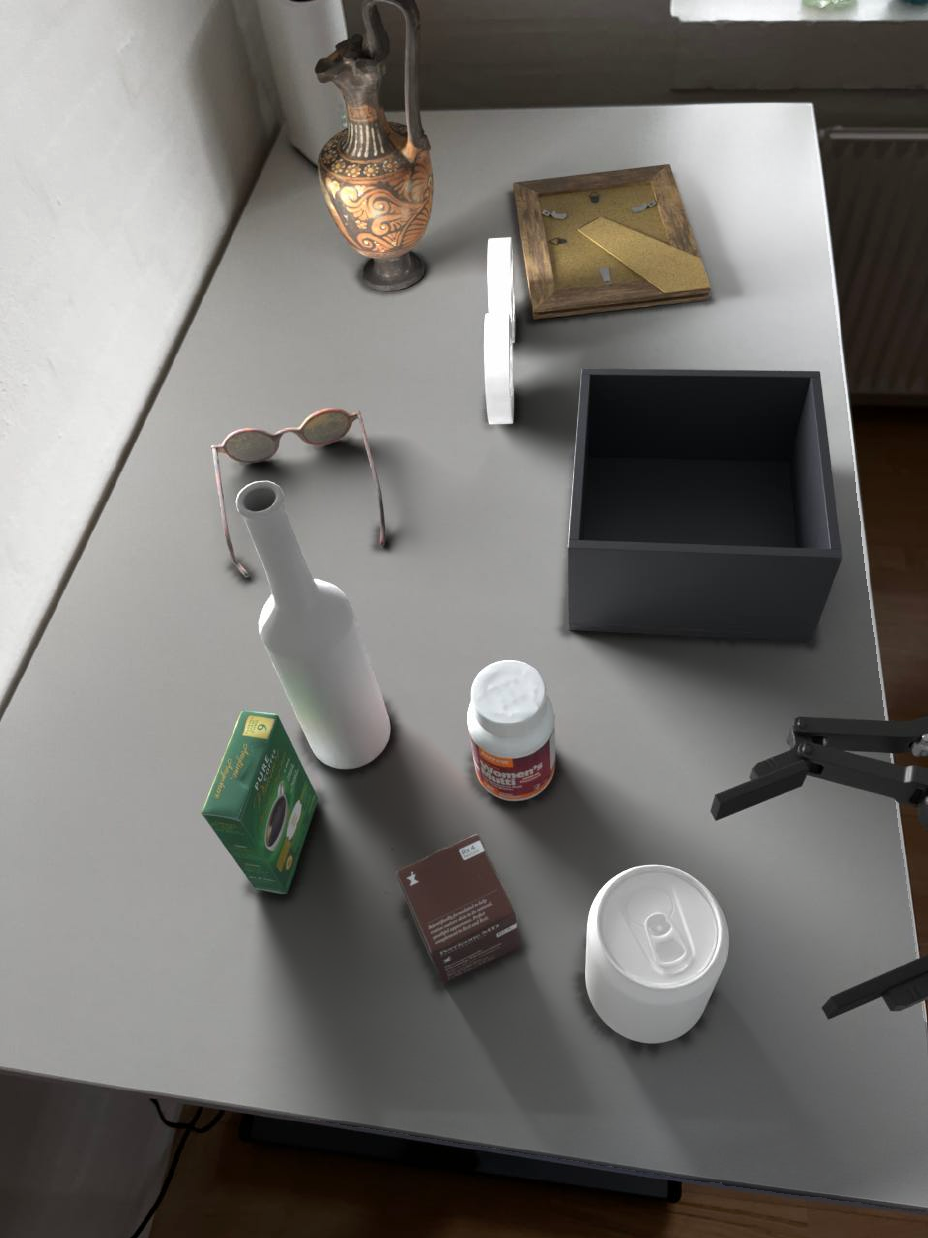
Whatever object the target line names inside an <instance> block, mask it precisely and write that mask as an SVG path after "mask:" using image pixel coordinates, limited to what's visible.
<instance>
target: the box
mask: <svg viewBox="0 0 928 1238" xmlns="http://www.w3.org/2000/svg"><path fill="white" fill-rule="evenodd" d="M395 874H396V877H397V881H398V883H399V885H400V888H401V891H402V894H403V896H404V898H405V901H406V905H407V906H408V909H409V911H410V914H411V916H412V919H413V922H414V924H415V927H416V929H417V931H418V933H419V936H420V939H421V940H422V943H423V945H424V948H425V949H426V951H427V954H428V956H429V958H430V961H431V963H432V965H433V967H434V969H435V971H436V973H437V975H438V977H439V980H440V982H441V983H442V984H445V983H448V982H450V981H453V980H455V979H457V978H460V977H462V976H463V975H466V974H467V973H469V972H472V971H474V970H477V969H478V968H481V967H483V966H484V965H486V964H488V963H491V962H493V961H495V960H496V959H498V958H501V957H503V956H504V955H506V954H508V953H510V952H512V951H515V950H517V949H518V948H519V947H520V946H521V941H520V934H519V928H518V923H517V922H518V920H517V915H516V914H517V913H516V910H515V907H514V905H513V903H512V901H511V898H510V896H509V895H508V892H507V891H506V889H505V887H504V885H503V883H502V881H501V879H500V877H499V875H498V873H497V871H496V869H495V866H494V864H493V862H492V860H491V858H490V856H489V855H488V852H487V849H486V848H485V846H484V843H483V842H482V840H481V838H480V836H479V834H478V833H475V834H473V835H471V836H468V837H467V838H465V839H462V840H460V841H458V842H456V843H454V844H452V845H449V846H447V847H445V848H441V849H439V850H436V851H434V852H432V853H431V854H429V855H428V856H426V857H424V858H422V859H419V860H417V861H415V862H412V863H411V864H409V865H406V866H404V867H402V868H400V869H398V870H397V871H396V873H395Z"/></svg>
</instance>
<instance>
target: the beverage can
mask: <svg viewBox="0 0 928 1238" xmlns="http://www.w3.org/2000/svg"><path fill="white" fill-rule="evenodd" d="M585 944H586V945H585V947H586V948H585V969H584V975H585V976H584V978H585V981H584V982H585V988H586V992H587V996H588V998H589V1001H590V1004H592V1007H593V1009H594V1011H595V1012H596V1014H597V1015H598V1016H599V1018H600V1019H601V1020H602V1021H603V1022H604V1024H605V1025H606V1026H608V1027H609V1028H610V1029H611V1030H612V1031H614V1032H615V1033H617V1034H618V1035H620V1036H622V1037H624V1038H626V1039H628V1040H631V1041H634V1042H638V1043H643V1044H662V1043H666V1042H670V1041H673V1040H676V1039H678V1038H680V1037H682V1036H683V1035H685V1034H686V1033H688V1032H689V1031H690V1030H691V1029H693V1027H694V1026H695V1025H696V1024H697V1023H698V1022H699V1020H700V1019H701V1017H702V1015H703V1014H704V1011H705V1009H706V1007H707V1005H708V1003H709V1001H710V998H711V996H712V994H713V992H714V990H715V988H716V986H717V983H718V981H719V979H720V977H721V975H722V972H723V970H724V968H725V965H726V963H727V960H728V957H729V949H730V933H729V927H728V923H727V918H726V917H725V914H724V912H723V909H722V907H721V905H720V903H719V902H718V900H717V899H716V898H715V895H713V893H712V892H711V890H709V889H708V887H706V885H704V884H703V883H702V882H701V881H700V880H698V879H697V878H695V877H694V876H693V875H691V874H689V873H687V872H685V871H684V870H682V869H679V868H676V867H673V866H669V865H663V864H645V865H638V866H634V867H631V868H628V869H626V870H623V871H621V872H620V873H618V874H616V875H615V876H613V877H612V878H611V879H609V880H608V881H607V882H606V883H605V884H604V885H603V886H602V887H601V889H600V890H599V891H598V893H596V896H595V897H594V899H593V902H592V904H591V906H590V909H589V912H588V917H587V923H586V942H585Z"/></svg>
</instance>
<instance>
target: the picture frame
mask: <svg viewBox="0 0 928 1238" xmlns="http://www.w3.org/2000/svg"><path fill="white" fill-rule="evenodd" d="M512 188H513V199H514V205H515V210H516V211H515V212H516V217H517V223H518V230H519V235H520V242H521V249H522V254H523V255H522V256H523V261H524V267H525V273H526V280H527V285H528V292H529V299H530V305H531V312H532V317H533V320H543V319H551V318H558V317H560V318H561V317H569V316H576V315H586V314H594V313H603V312H612V311H620V310H629V309H637V308H638V309H639V308H646V307H655V306H665V305H672V304H673V305H674V304H681V303H689V302H699V301H707V300H710V293H711V287H712V286H711V284H710V281H709V278H708V274H707V272H706V270H705V266H704V264H703V261H702V257H701V255H700V252H699V249H698V246H697V243H696V240H695V236H694V233H693V231H692V228H691V227H692V226H691V224H690V222H689V218H688V215H687V212H686V209H685V207H684V203H683V200H682V198H681V195H680V194H681V193H680V190H679V188H678V185H677V182H676V179H675V176H674V172H673V170H672V167H671V164H670V163H665V164H656V165H648V166H647V165H646V166H640V167H632V168H631V167H630V168H623V169H615V170H606V171H600V172H590V173H582V174H573V175H564V176H558V177H549V178H548V177H547V178H540V179H533V180H524V181H516V182H512Z"/></svg>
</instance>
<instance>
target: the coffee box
mask: <svg viewBox="0 0 928 1238" xmlns="http://www.w3.org/2000/svg"><path fill="white" fill-rule="evenodd" d="M318 801H319V797H318V795H317V792H316V790H315V787H314V785H313V784H312V782H311V780H310V779H309V776H308V774H307V772H306V770H305V768H304V766H303V764H302V761H301V760H300V757H299V756H298V753H297V751H296V749H295V747H294V745H293V743H292V741H291V739H290V736H289V735H288V732H287V731H286V728H285V726H284V724H283V722H282V721H281V718H280V716H279V714H278V713H274V712H265V711H254V710H252V711H251V710H244V709H242V710H241V711H240V714H239V716H238V719H237V721H236V723H235V726H234V729H233V731H232V734H231V737H230V740H229V742H228V744H227V746H226V749H225V752H224V754H223V756H222V759H221V761H220V765H219V767H218V769H217V772H216V774H215V777H214V779H213V781H212V784H211V787H210V789H209V792H208V794H207V797H206V800H205V802H204V805H203V807H202V809H201V812H200V814H201V816H202V817H203V818H204V820H205V821H206V822H207V824H208V825H209V827H210V828H211V830H212V831H213V832H214V834H215V835H216V836H217V838H218V839H219V841H220V842H221V843H222V845H223V846H224V848H225V849H226V850H227V852H228V853H229V854H230V856H231V857H232V858H233V860H234V862H235V863H236V865H237V866H238V867H239V869H240V870H241V872H242V873H243V875H244V876H245V877H246V878H247V880H248V881H249V882H250V884H251V885H252V887H253V888H254V889H255V890H260V891H264V892H268V893H269V892H270V893H274V894H280V895H284V894H285V895H287V894H288V893H289V890H290V886H291V884H292V881H293V878H294V875H295V873H296V870H297V866H298V862H299V859H300V856H301V853H302V850H303V846H304V844H305V840H306V837H307V834H308V831H309V828H310V825H311V822H312V819H313V817H314V813H315V810H316V807H317V804H318Z"/></svg>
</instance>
